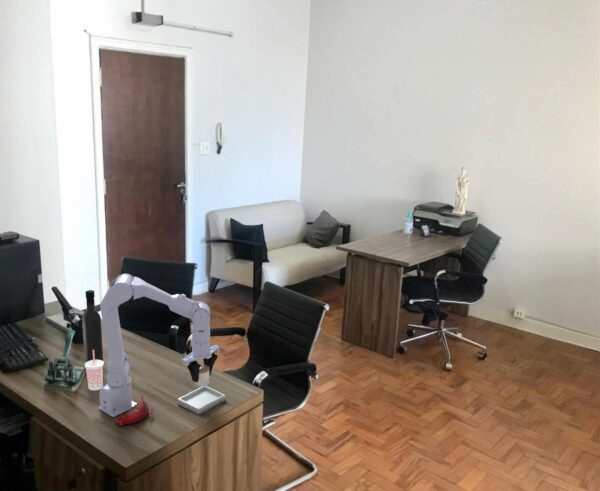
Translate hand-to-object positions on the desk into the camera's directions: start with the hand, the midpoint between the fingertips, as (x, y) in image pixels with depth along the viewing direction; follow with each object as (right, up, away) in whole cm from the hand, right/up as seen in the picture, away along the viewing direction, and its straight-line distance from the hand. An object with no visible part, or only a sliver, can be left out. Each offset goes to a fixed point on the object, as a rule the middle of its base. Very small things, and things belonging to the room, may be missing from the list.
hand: (201, 378), depth 180 cm
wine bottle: (-44, -2, +23) cm, 50 cm away
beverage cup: (-38, -6, +9) cm, 40 cm away
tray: (0, -9, +2) cm, 9 cm away
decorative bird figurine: (-14, -8, -6) cm, 17 cm away
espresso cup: (0, -2, 0) cm, 2 cm away
